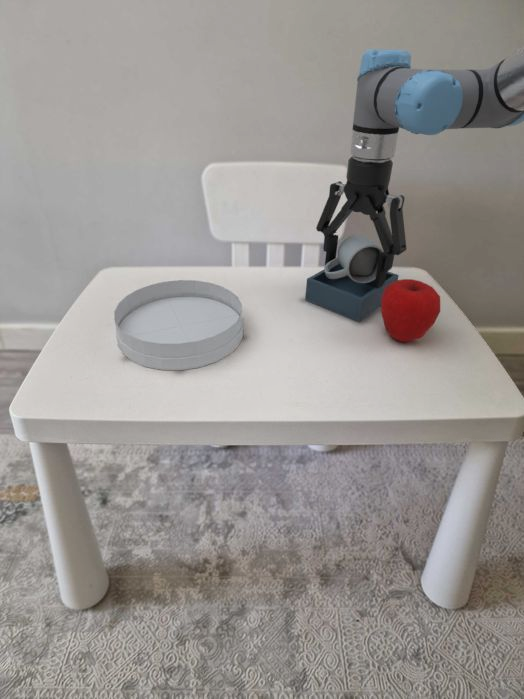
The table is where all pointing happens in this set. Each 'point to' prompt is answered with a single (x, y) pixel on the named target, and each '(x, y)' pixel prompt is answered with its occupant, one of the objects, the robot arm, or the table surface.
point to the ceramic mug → (356, 260)
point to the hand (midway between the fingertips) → (353, 275)
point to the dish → (179, 324)
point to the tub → (346, 294)
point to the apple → (409, 309)
